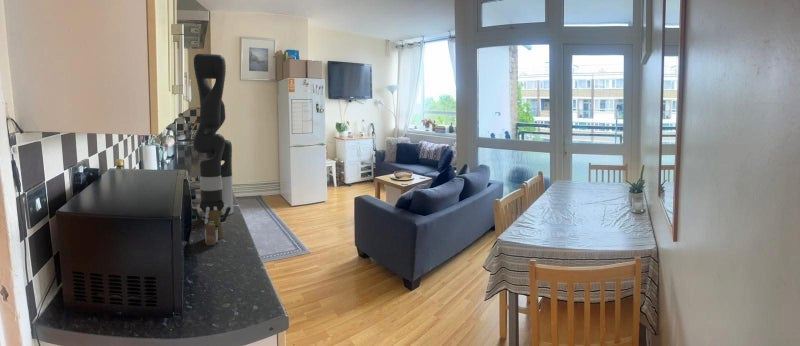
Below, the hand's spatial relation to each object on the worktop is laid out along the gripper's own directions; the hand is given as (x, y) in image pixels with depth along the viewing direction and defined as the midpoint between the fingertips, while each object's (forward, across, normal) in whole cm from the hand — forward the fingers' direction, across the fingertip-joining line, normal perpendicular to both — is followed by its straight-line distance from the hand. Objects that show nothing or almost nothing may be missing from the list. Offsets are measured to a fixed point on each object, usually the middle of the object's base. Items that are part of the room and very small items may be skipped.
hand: (213, 232), depth 172 cm
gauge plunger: (+2, 0, +6) cm, 6 cm away
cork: (+2, -1, 0) cm, 2 cm away
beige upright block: (+2, 0, +7) cm, 7 cm away
